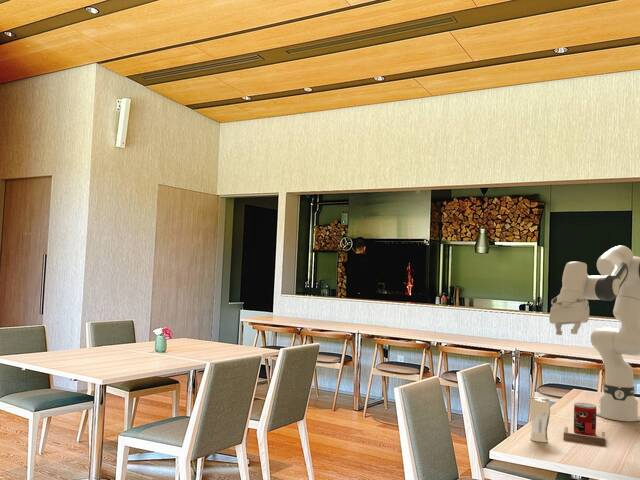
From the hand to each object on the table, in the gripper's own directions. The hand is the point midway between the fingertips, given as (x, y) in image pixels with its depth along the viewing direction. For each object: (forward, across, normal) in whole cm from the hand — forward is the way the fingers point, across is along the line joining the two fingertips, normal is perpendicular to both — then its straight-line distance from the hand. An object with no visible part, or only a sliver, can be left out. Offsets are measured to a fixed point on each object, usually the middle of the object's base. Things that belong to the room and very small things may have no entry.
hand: (566, 334), depth 233 cm
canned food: (+34, +6, -18) cm, 40 cm away
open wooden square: (+37, -2, -13) cm, 39 cm away
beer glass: (+42, -2, +6) cm, 42 cm away
